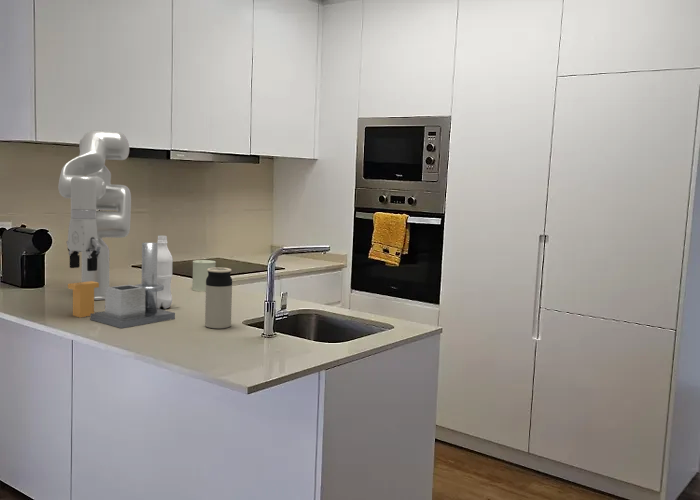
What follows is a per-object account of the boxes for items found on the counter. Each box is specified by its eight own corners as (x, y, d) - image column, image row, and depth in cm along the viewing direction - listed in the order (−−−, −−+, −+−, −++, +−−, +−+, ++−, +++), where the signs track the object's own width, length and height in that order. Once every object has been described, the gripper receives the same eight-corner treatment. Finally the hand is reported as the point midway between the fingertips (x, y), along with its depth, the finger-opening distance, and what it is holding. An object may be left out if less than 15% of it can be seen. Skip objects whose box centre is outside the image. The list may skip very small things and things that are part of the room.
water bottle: (176, 307, 241) (177, 235, 238) (164, 310, 234) (165, 237, 231) (158, 304, 243) (159, 234, 240) (146, 308, 236) (147, 235, 233)
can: (187, 290, 275) (187, 260, 273) (200, 287, 283) (201, 258, 282) (206, 292, 271) (207, 262, 270) (219, 289, 280) (220, 260, 278)
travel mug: (218, 330, 209) (220, 271, 207) (199, 326, 213) (200, 268, 211) (236, 326, 216) (237, 269, 214) (217, 322, 220) (218, 266, 218)
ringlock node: (90, 319, 215) (90, 243, 213) (145, 311, 232) (145, 240, 229) (121, 328, 206) (122, 248, 203) (176, 318, 222) (177, 244, 220)
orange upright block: (67, 316, 219) (67, 283, 218) (91, 312, 226) (91, 281, 225) (75, 318, 217) (75, 285, 216) (98, 314, 223) (98, 282, 222)
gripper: (57, 214, 220) (57, 267, 221) (88, 217, 209) (88, 272, 211) (78, 214, 226) (78, 265, 227) (110, 216, 215) (109, 271, 217)
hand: (83, 269), depth 219 cm, fingers open, 9 cm apart
